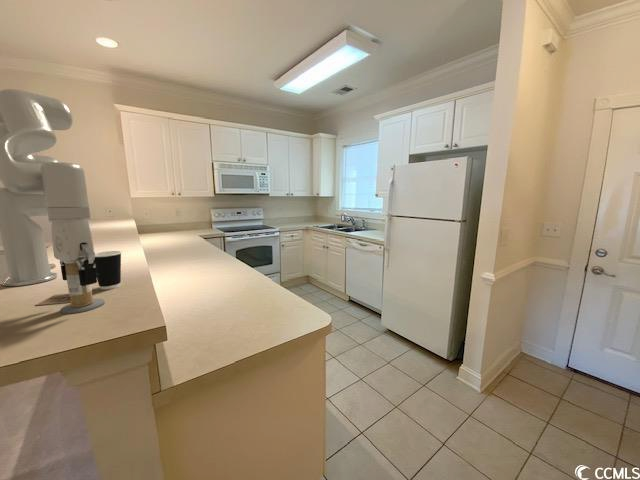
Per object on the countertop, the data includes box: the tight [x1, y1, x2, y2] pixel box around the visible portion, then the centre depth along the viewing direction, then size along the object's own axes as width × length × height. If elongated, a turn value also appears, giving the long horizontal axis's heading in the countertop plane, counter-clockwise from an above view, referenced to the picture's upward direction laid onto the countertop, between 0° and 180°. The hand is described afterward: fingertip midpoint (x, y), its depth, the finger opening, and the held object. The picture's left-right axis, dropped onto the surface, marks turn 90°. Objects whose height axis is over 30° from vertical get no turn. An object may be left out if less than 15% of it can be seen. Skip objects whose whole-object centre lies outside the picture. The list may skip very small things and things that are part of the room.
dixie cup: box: [95, 250, 123, 290], centre depth 82 cm, size 8×8×11 cm
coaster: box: [60, 298, 105, 315], centre depth 68 cm, size 8×8×1 cm
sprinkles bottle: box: [63, 260, 94, 307], centre depth 67 cm, size 5×5×13 cm
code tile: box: [34, 293, 71, 307], centre depth 73 cm, size 8×8×1 cm
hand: (79, 281), depth 67 cm, fingers open, 9 cm apart
